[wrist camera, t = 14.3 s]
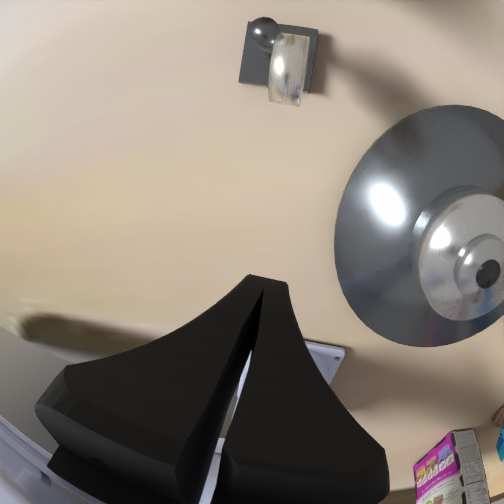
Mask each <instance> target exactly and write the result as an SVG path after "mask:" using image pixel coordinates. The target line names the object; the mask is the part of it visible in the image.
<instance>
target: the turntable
mask: <svg viewBox="0 0 504 504" xmlns="http://www.w3.org/2000/svg"><path fill="white" fill-rule="evenodd" d="M460 185H472V186H477V187H480V188H482V189H484V190H486V191H488V192H489V193H491V194H493V195H494V196H496V197H498V198H500V199H501V200H503V201H504V120H502V119H501V118H499V117H498V116H496V115H494V114H492V113H490V112H488V111H485V110H482V109H479V108H475V107H471V106H463V105H445V106H435V107H432V108H428V109H424V110H421V111H418V112H416V113H414V114H412V115H410V116H408V117H405V118H404V119H402V120H401V121H399V122H398V123H396V124H395V125H393V126H392V127H390V128H389V129H388V130H387V131H386V132H385V133H383V134H382V135H381V136H380V137H379V138H378V139H377V140H376V141H375V142H374V143H373V144H372V146H371V147H370V148H369V149H368V150H367V152H366V153H365V154H364V155H363V157H362V158H361V160H360V161H359V163H358V165H357V166H356V168H355V169H354V171H353V173H352V175H351V177H350V179H349V181H348V183H347V185H346V187H345V190H344V193H343V196H342V199H341V202H340V205H339V208H338V214H337V219H336V224H335V235H334V253H335V264H336V269H337V274H338V279H339V282H340V285H341V288H342V291H343V294H344V296H345V297H346V299H347V301H348V303H349V305H350V307H351V308H352V309H353V311H354V312H355V314H356V315H357V316H358V318H359V319H360V320H361V321H362V322H363V323H364V324H365V325H366V326H368V327H369V328H370V329H372V330H373V331H374V332H376V333H377V334H379V335H381V336H382V337H384V338H386V339H388V340H391V341H394V342H396V343H399V344H403V345H408V346H415V347H436V346H443V345H448V344H452V343H455V342H459V341H462V340H464V339H467V338H469V337H471V336H473V335H475V334H477V333H479V332H481V331H483V330H484V329H486V328H487V327H489V326H490V325H491V324H493V323H494V322H495V321H497V320H498V319H499V318H500V317H501V316H503V315H504V300H503V301H502V302H501V303H500V304H499V305H498V306H497V307H495V308H494V309H493V310H491V311H490V312H488V313H486V314H484V315H482V316H480V317H477V318H474V319H470V320H463V321H458V320H451V319H447V318H445V317H443V316H441V315H440V314H438V313H437V312H436V311H435V310H434V309H433V308H432V307H431V305H430V304H429V302H428V300H427V298H426V296H425V294H424V292H423V290H422V288H421V286H420V284H419V282H418V280H417V278H416V276H415V274H414V272H413V270H412V267H411V262H410V254H409V253H410V241H411V236H412V232H413V229H414V227H415V224H416V222H417V220H418V218H419V216H420V215H421V213H422V212H423V210H424V209H425V207H426V206H427V205H428V204H429V203H430V202H431V201H432V200H433V199H434V198H435V197H436V196H438V195H439V194H440V193H442V192H444V191H446V190H447V189H450V188H452V187H455V186H460Z"/></svg>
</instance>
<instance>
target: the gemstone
mask: <svg viewBox="0 0 504 504" xmlns="http://www.w3.org/2000/svg"><path fill="white" fill-rule="evenodd" d="M493 422H494V425H495V426H497V427H502V428H501V430H500V431H501V433H500V435H499V438H498V442H497V445H496V448H497V452H498V455H499V457H500V460H501V462H502V461H503V459H504V405H503V406H502V407H501V408H500V409H499V410H498V412H497V413H496V415H495V417H494V419H493Z"/></svg>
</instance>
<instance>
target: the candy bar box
mask: <svg viewBox="0 0 504 504" xmlns="http://www.w3.org/2000/svg"><path fill="white" fill-rule="evenodd" d="M413 469H414V479H415V490H416V503H417V504H491V503H490V496H489V490H488V485H487V481H486V475H485V469H484V465H483V461H482V457H481V453H480V449H479V445H478V441H477V437H476V434H475V430H474V429H465V430H458V431H451V432H449V433H448V434H447V435H446V436H445V437H444V438H443V439H442V440H441V441H440V442H439V443H438V444H437V445H436V446H435V447H434V448H433V449H432V450H431V451H430V452H428V453H427V454H426V455H425V456H424V457H423V458H422V459H421V460H419V461H418V462H417V463H416V464H415V465H414V466H413Z"/></svg>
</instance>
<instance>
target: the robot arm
mask: <svg viewBox="0 0 504 504" xmlns="http://www.w3.org/2000/svg"><path fill="white" fill-rule="evenodd" d="M344 356H345V349H343V348H341V347H335V346H330V345H324V344H319V343H314V342H308V341H304V338H303V336H302V334H301V331H300V329H299V326H298V323H297V320H296V317H295V314H294V311H293V308H292V304H291V300H290V295H289V289H288V285H287V283H286V282H283V281H278V280H274V279H269V278H265V277H260V276H255V275H251V274H249V275H247V276H245V278H244V279H243V280H242V281H241V282H240V283H239V284H238V285H237V286H236V287H235V288H233V289H232V290H231V291H230V292H229V293H228V294H227V295H226V296H224V297H223V298H222V299H221V300H219V301H218V302H217V303H216V304H215V305H213V306H212V307H211V308H209V309H208V310H206V311H205V312H203V313H202V314H201V315H199V316H198V317H196V318H195V319H193V320H192V321H190V322H189V323H187V324H185V325H184V326H182V327H180V328H178V329H177V330H175V331H173V332H171V333H169V334H167V335H165V336H163V337H161V338H159V339H157V340H154V341H152V342H150V343H148V344H145V345H143V346H140V347H137V348H135V349H132V350H129V351H126V352H123V353H120V354H116V355H113V356H109V357H106V358H102V359H97V360H93V361H88V362H83V363H78V364H73V365H67V366H66V367H65V368H64V369H63V370H62V371H61V372H60V373H59V374H58V375H57V376H56V378H55V379H54V380H53V382H52V383H51V384H50V386H49V387H48V388H47V389H46V391H45V392H44V393H43V395H42V396H41V397H40V399H39V400H38V402H37V403H36V404H35V406H34V408H35V412H36V415H37V417H38V418H39V420H40V421H41V423H42V424H43V425H44V427H45V428H46V429H47V431H48V432H49V433H50V434H51V435H52V437H53V438H54V439H55V440H56V441H57V443H58V444H59V447H58V448H57V450H56V452H55V453H54V455H51V454H50V453H48V452H47V451H45V450H44V449H42V448H41V447H39V446H38V445H37V444H35V443H34V442H33V441H31V440H30V439H29V438H27V437H26V436H25V435H24V434H22V433H21V432H20V431H18V430H17V429H16V428H15V427H13V426H12V425H11V424H10V423H9V422H7V421H6V420H5V419H4V418H3V417H2V416H1V415H0V504H76V503H75V502H73V501H71V500H70V499H68V498H66V497H65V496H63V495H62V494H61V493H59V492H58V491H56V490H55V489H53V488H52V486H51V481H50V479H52V480H53V481H55V482H56V483H58V484H59V485H60V486H62V487H64V488H65V489H67V490H68V491H70V492H72V493H73V494H75V495H77V496H78V497H80V498H82V499H83V500H85V501H87V502H89V503H90V504H377V503H379V502H380V501H382V500H383V499H384V498H385V497H386V496H387V495H388V493H389V491H390V482H389V470H388V464H387V459H386V454H385V449H384V448H383V447H382V446H381V445H380V444H379V443H378V442H377V441H376V440H374V439H373V438H372V437H371V436H370V435H369V434H368V433H367V432H366V431H365V430H364V429H363V428H362V427H361V426H360V425H359V424H358V422H357V421H356V420H355V419H354V418H353V417H352V416H351V414H350V413H349V412H348V411H347V410H346V408H345V407H344V406H343V404H342V403H341V402H340V400H339V399H338V397H337V396H336V395H335V393H334V392H333V390H332V389H331V388H330V386H329V385H330V383H331V382H332V380H333V378H334V376H335V374H336V372H337V370H338V368H339V366H340V364H341V362H342V360H343V358H344ZM336 357H338V358H336ZM240 377H241V379H240ZM239 380H240V384H239V389H238V394H237V396H238V400H237V403H236V407H235V410H234V413H233V417H232V420H231V423H230V427H229V429H228V432H227V435H226V438H225V439H224V438H219V436H220V433H221V430H222V426H223V423H224V420H225V416H226V413H227V410H228V407H229V405H230V402H231V399H232V397H233V394H234V392H235V390H236V387H237V385H238V382H239ZM48 477H49V478H50V479H49V478H48Z"/></svg>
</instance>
